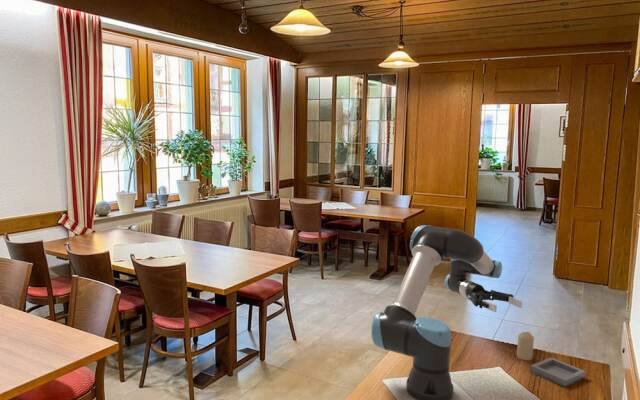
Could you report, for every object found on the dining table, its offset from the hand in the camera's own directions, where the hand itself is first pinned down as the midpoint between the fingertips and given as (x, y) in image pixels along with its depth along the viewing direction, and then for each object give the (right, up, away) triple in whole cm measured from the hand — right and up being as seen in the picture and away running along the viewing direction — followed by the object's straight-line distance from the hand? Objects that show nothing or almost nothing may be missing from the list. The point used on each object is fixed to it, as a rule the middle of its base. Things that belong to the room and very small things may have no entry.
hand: (508, 306), depth 194 cm
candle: (+3, -18, -7) cm, 20 cm away
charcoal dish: (+9, -20, -21) cm, 30 cm away
